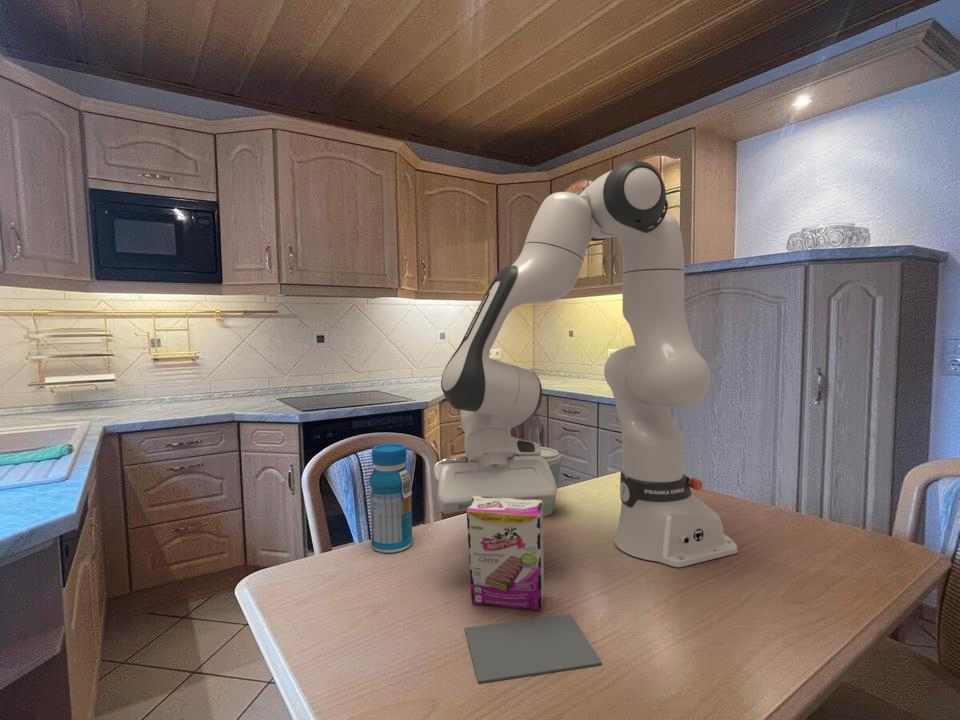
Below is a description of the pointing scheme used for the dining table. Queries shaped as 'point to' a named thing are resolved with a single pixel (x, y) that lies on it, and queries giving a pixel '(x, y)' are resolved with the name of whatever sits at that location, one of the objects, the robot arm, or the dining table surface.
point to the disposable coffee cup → (554, 464)
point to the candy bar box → (506, 552)
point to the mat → (529, 648)
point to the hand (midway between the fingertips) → (503, 531)
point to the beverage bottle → (390, 499)
